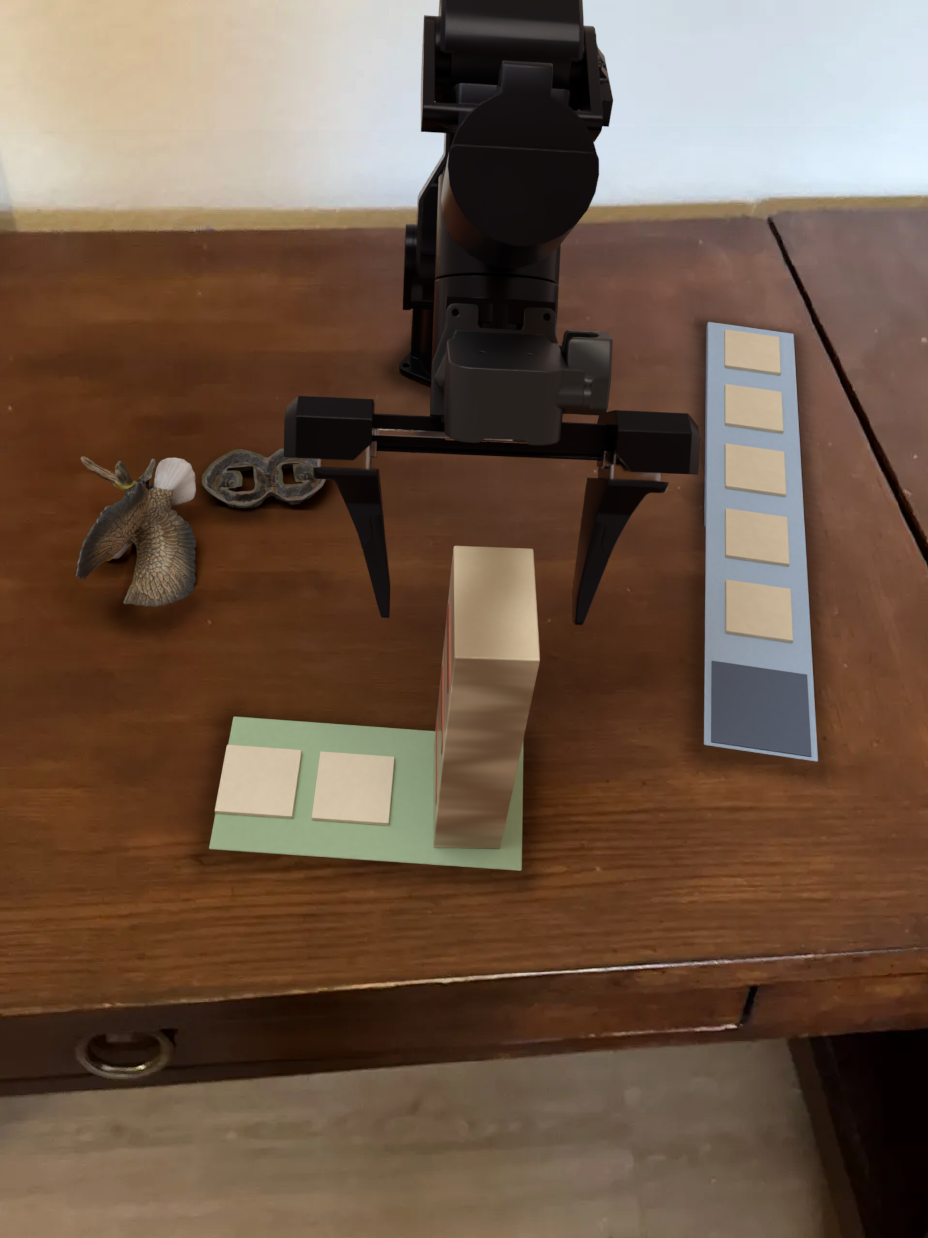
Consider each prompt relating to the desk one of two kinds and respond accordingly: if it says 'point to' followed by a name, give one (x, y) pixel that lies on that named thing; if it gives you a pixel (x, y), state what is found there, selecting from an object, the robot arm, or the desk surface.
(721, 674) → the right mat
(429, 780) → the left mat
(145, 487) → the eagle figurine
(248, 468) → the corroded twin loop
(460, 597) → the red striped wooden block
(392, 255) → the desk surface
